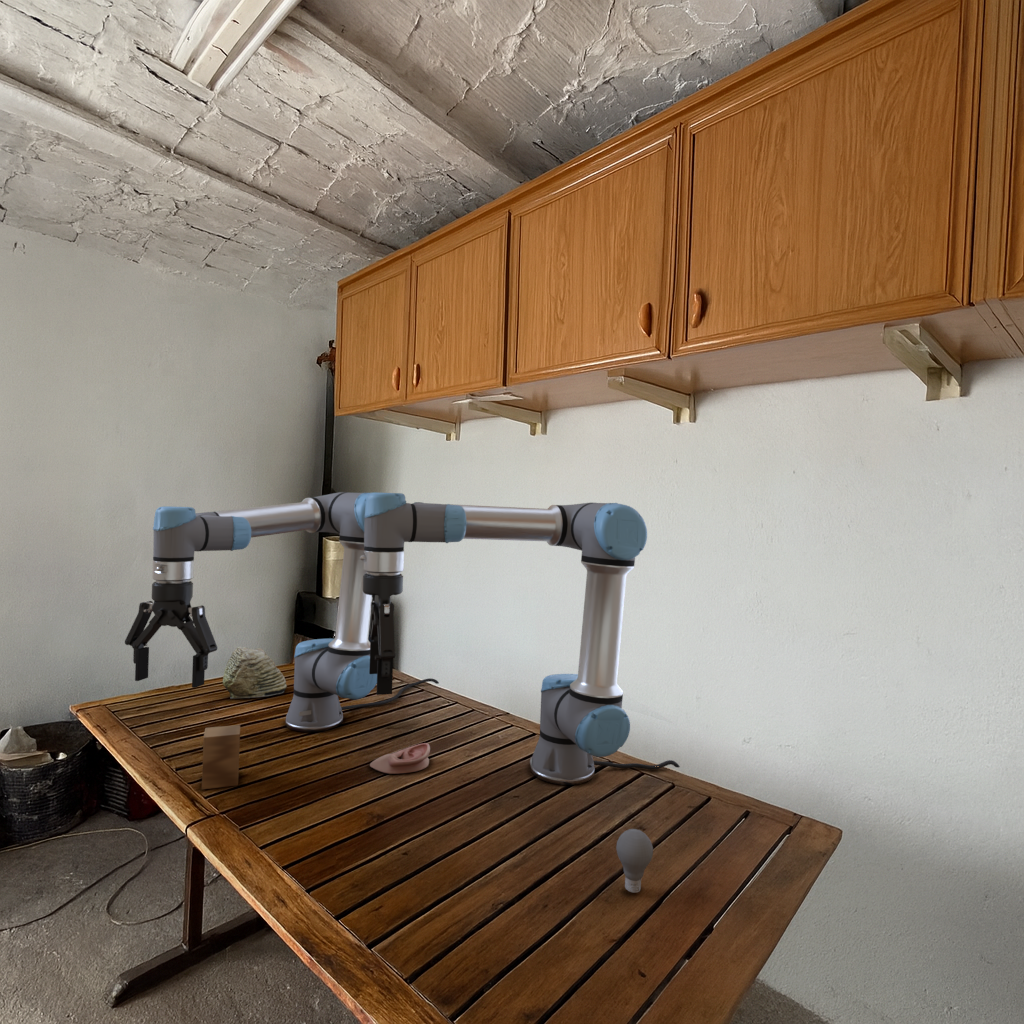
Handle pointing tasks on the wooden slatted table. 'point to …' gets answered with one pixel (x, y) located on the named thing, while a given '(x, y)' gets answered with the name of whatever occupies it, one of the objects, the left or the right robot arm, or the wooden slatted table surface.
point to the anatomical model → (404, 760)
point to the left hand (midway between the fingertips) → (169, 682)
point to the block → (220, 756)
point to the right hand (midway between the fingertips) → (380, 683)
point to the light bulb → (634, 857)
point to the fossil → (252, 674)
